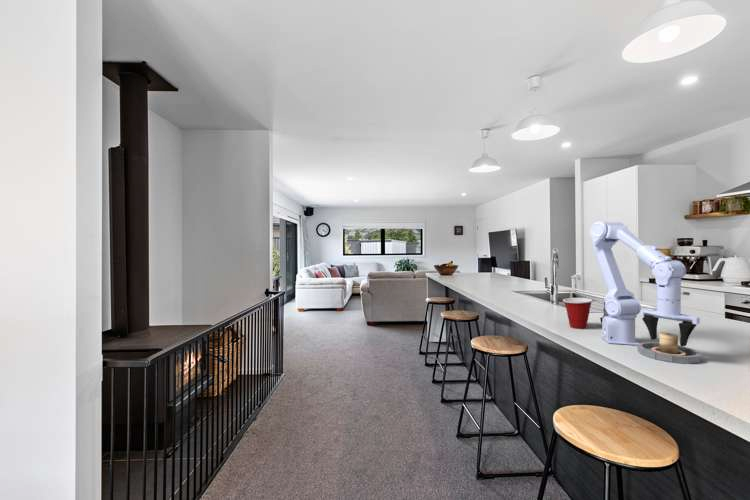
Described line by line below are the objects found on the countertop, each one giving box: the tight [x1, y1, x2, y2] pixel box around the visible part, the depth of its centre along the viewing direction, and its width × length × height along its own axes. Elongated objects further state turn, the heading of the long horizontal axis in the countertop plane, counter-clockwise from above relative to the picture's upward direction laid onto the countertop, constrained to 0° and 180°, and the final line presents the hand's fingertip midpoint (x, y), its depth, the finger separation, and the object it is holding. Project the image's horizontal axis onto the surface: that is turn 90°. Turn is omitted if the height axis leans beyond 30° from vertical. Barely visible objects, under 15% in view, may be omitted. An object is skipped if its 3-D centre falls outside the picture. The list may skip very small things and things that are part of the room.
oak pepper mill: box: [658, 332, 679, 354], centre depth 107 cm, size 4×4×6 cm
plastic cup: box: [562, 297, 593, 330], centre depth 143 cm, size 11×11×12 cm
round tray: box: [637, 341, 702, 365], centre depth 107 cm, size 15×15×2 cm
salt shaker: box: [599, 301, 609, 329], centre depth 142 cm, size 6×6×12 cm
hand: (668, 342), depth 107 cm, fingers open, 7 cm apart
